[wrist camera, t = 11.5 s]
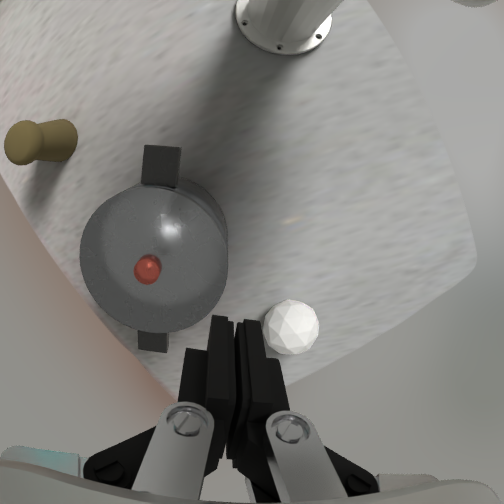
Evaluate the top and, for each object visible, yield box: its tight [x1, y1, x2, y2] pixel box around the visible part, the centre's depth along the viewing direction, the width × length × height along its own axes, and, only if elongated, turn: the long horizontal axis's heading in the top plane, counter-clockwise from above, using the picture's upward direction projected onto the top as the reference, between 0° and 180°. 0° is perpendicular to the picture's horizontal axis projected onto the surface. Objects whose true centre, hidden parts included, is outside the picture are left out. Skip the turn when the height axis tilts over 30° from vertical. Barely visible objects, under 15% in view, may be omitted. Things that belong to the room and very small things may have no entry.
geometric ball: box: [263, 299, 319, 355], centre depth 44 cm, size 8×8×8 cm
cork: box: [4, 119, 78, 165], centre depth 32 cm, size 6×6×11 cm
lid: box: [80, 186, 228, 333], centre depth 32 cm, size 16×16×3 cm
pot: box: [123, 145, 228, 353], centre depth 38 cm, size 24×16×10 cm, turn 172°
